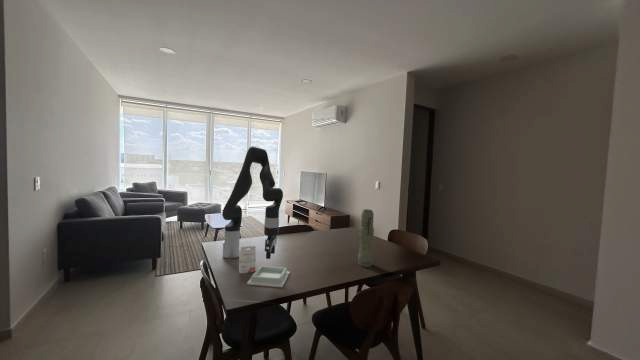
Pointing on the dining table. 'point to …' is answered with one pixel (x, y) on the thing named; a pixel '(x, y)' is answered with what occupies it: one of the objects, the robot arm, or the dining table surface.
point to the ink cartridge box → (247, 259)
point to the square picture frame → (269, 276)
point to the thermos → (366, 239)
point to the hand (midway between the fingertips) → (270, 256)
